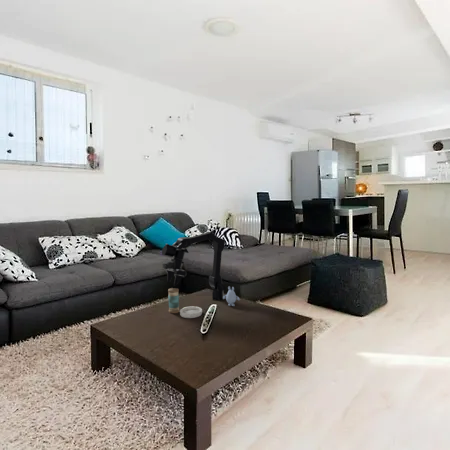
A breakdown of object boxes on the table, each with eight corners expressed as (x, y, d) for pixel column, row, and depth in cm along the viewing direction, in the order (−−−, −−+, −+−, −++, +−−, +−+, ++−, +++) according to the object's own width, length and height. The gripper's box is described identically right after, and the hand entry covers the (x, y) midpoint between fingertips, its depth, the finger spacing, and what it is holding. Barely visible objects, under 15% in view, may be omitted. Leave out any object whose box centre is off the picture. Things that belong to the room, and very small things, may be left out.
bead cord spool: (180, 309, 205) (180, 288, 203) (177, 313, 199) (177, 291, 197) (170, 309, 206) (169, 287, 204) (167, 313, 200) (166, 291, 198)
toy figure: (241, 304, 211) (240, 285, 210) (238, 308, 206) (238, 288, 204) (224, 303, 215) (224, 284, 213) (221, 306, 209) (221, 287, 207)
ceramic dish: (203, 310, 203) (203, 306, 203) (199, 318, 191) (199, 314, 190) (183, 309, 205) (183, 306, 204) (177, 317, 193) (177, 313, 192)
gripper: (160, 253, 209) (153, 278, 208) (172, 258, 193) (165, 285, 192) (176, 257, 215) (169, 281, 214) (189, 262, 199) (182, 288, 198)
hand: (171, 284), depth 204 cm, fingers open, 9 cm apart
